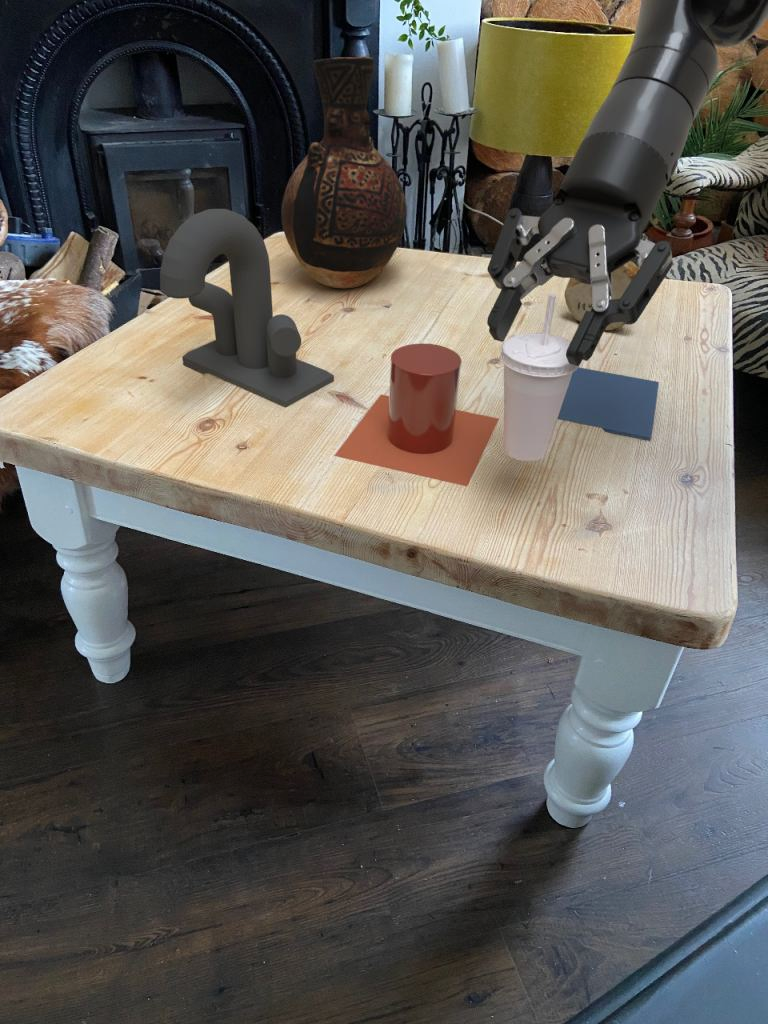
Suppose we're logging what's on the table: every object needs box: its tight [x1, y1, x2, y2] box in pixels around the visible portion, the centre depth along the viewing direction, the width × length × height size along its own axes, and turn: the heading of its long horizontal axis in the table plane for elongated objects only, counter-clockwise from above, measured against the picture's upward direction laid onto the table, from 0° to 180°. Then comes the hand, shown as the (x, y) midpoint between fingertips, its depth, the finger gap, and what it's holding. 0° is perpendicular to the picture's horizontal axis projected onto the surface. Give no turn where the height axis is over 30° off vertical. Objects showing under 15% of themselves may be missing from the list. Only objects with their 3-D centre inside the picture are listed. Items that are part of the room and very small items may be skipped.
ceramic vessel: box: [280, 56, 408, 289], centre depth 107 cm, size 21×18×30 cm
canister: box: [388, 343, 462, 454], centre depth 76 cm, size 7×7×9 cm
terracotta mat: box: [333, 393, 500, 487], centre depth 79 cm, size 14×14×1 cm
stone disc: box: [564, 260, 639, 331], centre depth 102 cm, size 10×4×10 cm, turn 54°
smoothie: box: [499, 292, 580, 462], centre depth 62 cm, size 6×6×14 cm
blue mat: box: [557, 366, 660, 441], centre depth 88 cm, size 14×14×1 cm
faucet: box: [159, 208, 335, 409], centre depth 81 cm, size 18×16×20 cm
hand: (533, 348), depth 59 cm, fingers closed on smoothie, 6 cm apart
